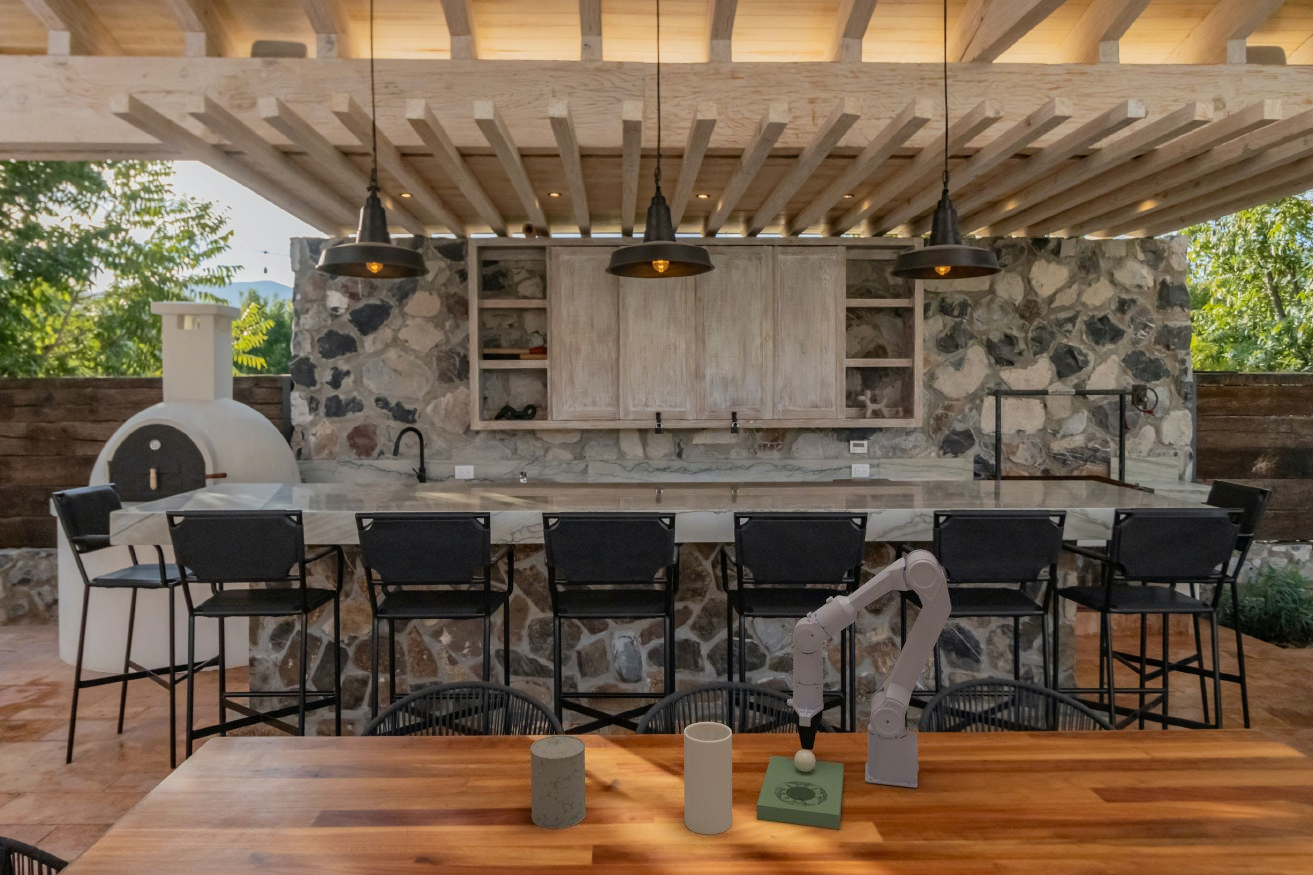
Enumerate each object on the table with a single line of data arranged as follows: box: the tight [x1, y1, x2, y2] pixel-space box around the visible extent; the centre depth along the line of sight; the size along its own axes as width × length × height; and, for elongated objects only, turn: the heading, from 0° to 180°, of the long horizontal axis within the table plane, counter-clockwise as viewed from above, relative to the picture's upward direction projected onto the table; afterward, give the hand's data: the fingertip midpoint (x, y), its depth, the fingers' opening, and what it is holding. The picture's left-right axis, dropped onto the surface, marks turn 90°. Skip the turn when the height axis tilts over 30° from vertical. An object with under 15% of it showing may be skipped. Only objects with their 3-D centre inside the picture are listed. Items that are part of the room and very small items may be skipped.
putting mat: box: [756, 755, 845, 830], centre depth 150 cm, size 20×14×2 cm
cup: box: [683, 721, 733, 835], centre depth 141 cm, size 8×8×16 cm
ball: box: [793, 748, 817, 772], centre depth 155 cm, size 4×4×4 cm
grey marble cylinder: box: [530, 734, 587, 830], centre depth 144 cm, size 10×10×12 cm
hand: (807, 747), depth 162 cm, fingers closed
